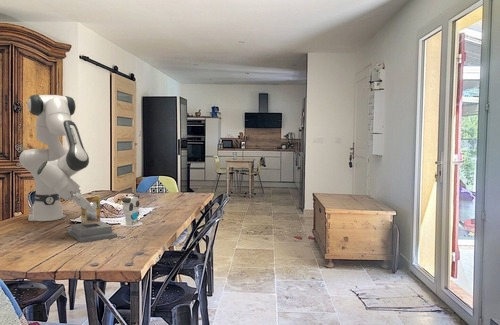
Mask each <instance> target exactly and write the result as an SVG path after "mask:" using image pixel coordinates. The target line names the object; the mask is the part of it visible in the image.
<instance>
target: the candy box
mask: <svg viewBox="0 0 500 325" xmlns="http://www.w3.org/2000/svg"><path fill="white" fill-rule="evenodd" d="M84 197H85V198H86V199H87V200H88V201H89V202H96V211H97V220H93V221H87V220H86V209H83V208H82V207H81V206H80V212H81V213H80V217H81V218H80V220H81V223H80V224H82V223H90V222H98V221H101V196H100V195H89V196H84Z"/></svg>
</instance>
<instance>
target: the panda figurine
mask: <svg viewBox="0 0 500 325" xmlns="http://www.w3.org/2000/svg"><path fill="white" fill-rule="evenodd" d="M122 202H123V203H122V211H123V214H124V219H125V221H124V222H122V223H120V226H121V227H127V228H128V227H129V228H130V227H133V228H134V227H139V226H142V225H143V222H141V221H139V216H140V211H139V209H140V194H139V195H137V194H132V195H131V196H127V197H122Z"/></svg>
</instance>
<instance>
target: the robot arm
mask: <svg viewBox="0 0 500 325" xmlns="http://www.w3.org/2000/svg"><path fill="white" fill-rule="evenodd" d="M27 110H28V112H29V113H30V114H31V115H33V116H36V119H35V120H36V123H35V138H36V140H37V141H39V143H41V144H44V145H46V146H47V148H29V149H25V150H23V151H22V152H21V153H20V154H19V164H20V165H21V166H22V167H23V168H24V169H26V170H27V171H28V172H29V173H30V174H31V176H32V177H33V179H34V185H35V195H34V203H33V205H32V206H31V207H29V212H30V214H28V218H27V219H28V220H27V221H29V222H51V221H57V220H60V219H63V218H66V217H67V216H66V214H63V213H64V212H63V202H61V201H60V197H61V198H62V199H63V200H64V201H67V200H69V201H74V202H75V203H76V204H77V205H78V206H79V207H80V208H81V207H82V208H83V209H86V208H87V209H88V210H89V211H91V212H92V213H93V212H94V211H95V209H94V208H92V207H91V205H90V202H89V201H88V200H87V199H86V198H85V197H86V196H84V195H83V194H82V191H81V189H80V187H81V185H79V184H78V183H77V181H75V180H74V179H72V178H71V177H72V176H74V175H76V174H77V173H78V172H80V171H82V170H83V169H85V168H87V167H88V166H89V163H90V158H89V157H90V156H89V155H88V152H86V149H85V147H84V144H83V141H82V139H81V135H80V132H79V129H78V126H77V124H76V123H75V122H74V121H73V120H72V116H73V115H74V114H75V112H76V101H75V100H74V98H73V97H71V96H67V95H66V96H63V95H60V94H59V95H58V94H32V95H30V96H29V98H28V101H27ZM62 136H63V137H65V139H66V142H67V146H68V149H67V148H66V147H64V145H63V144H62V142H61V140H60V139H61V138H60V137H62Z"/></svg>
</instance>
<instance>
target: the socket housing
mask: <svg viewBox="0 0 500 325" xmlns="http://www.w3.org/2000/svg"><path fill="white" fill-rule="evenodd" d="M112 228H113V226H112V225H110V224H108V223H106V222H104V221H101V220H100V221H98V222H90V223H82V224H81V223H75V224H71V228H69V229H66V233H67V235H69V236H71V237H72V238H74V239H75V240H77V241H78V242H79V243H81V244H82V243H87V242H94V241H102V240H108V239H115V238H118V233H116V232H114V231H113V229H112Z"/></svg>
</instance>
